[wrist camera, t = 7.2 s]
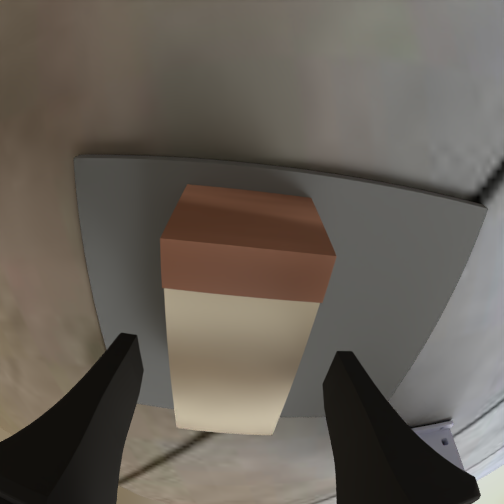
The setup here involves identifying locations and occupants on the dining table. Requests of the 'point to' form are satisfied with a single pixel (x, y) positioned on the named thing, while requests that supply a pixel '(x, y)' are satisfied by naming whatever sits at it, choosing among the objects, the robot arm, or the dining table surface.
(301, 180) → the rubber mat
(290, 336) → the brown and cream block
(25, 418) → the dining table surface
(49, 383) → the dining table surface
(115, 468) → the robot arm
